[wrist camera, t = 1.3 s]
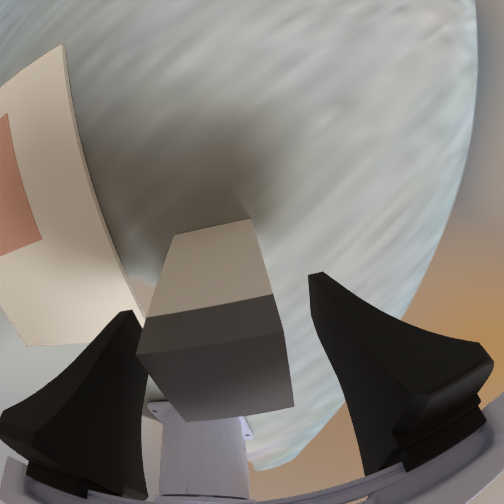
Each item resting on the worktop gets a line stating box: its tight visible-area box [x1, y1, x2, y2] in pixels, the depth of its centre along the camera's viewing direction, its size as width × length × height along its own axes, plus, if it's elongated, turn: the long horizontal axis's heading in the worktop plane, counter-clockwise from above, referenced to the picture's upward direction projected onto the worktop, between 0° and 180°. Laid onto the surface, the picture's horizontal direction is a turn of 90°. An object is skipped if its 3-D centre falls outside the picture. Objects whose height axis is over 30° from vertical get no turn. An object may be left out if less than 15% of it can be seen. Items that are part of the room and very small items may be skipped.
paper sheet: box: [0, 44, 146, 346], centre depth 12 cm, size 18×13×1 cm
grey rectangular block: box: [136, 219, 294, 422], centre depth 11 cm, size 4×4×8 cm
